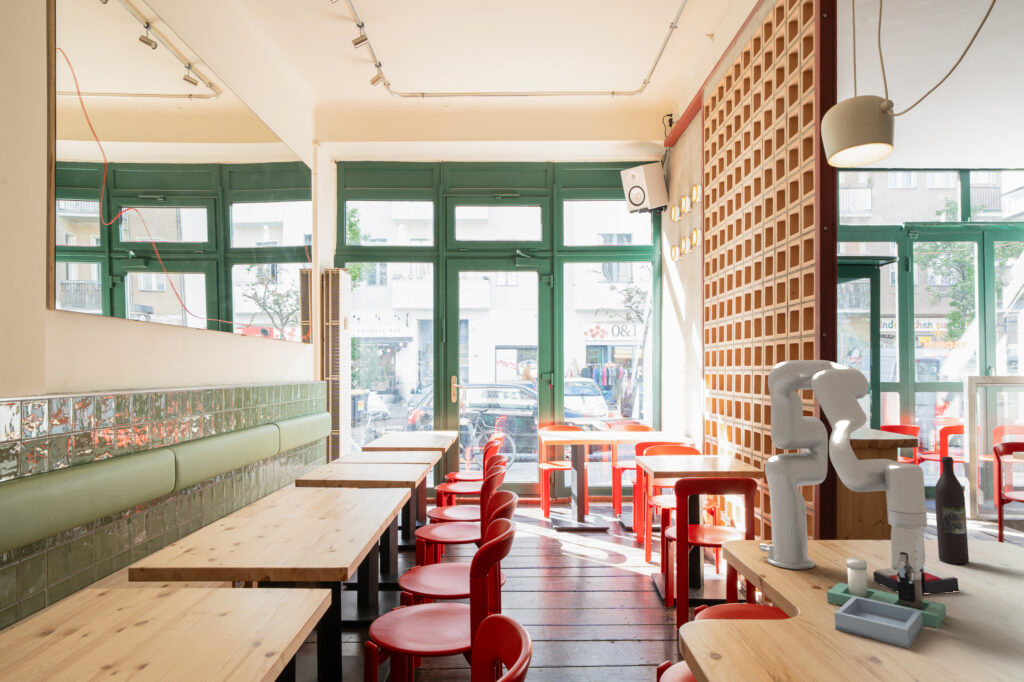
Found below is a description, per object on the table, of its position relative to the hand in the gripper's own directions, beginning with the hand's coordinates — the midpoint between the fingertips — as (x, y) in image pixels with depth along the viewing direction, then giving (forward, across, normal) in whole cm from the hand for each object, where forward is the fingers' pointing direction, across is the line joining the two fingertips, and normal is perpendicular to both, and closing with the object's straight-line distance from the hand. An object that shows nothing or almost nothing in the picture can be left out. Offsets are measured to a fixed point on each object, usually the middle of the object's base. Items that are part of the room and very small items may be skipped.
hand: (912, 595), depth 136 cm
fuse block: (+4, 0, -6) cm, 7 cm away
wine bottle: (+4, -53, -1) cm, 53 cm away
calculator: (+5, -22, -4) cm, 23 cm away
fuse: (+4, 0, -11) cm, 12 cm away
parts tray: (+5, +13, -4) cm, 14 cm away
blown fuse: (+5, 0, 0) cm, 5 cm away
